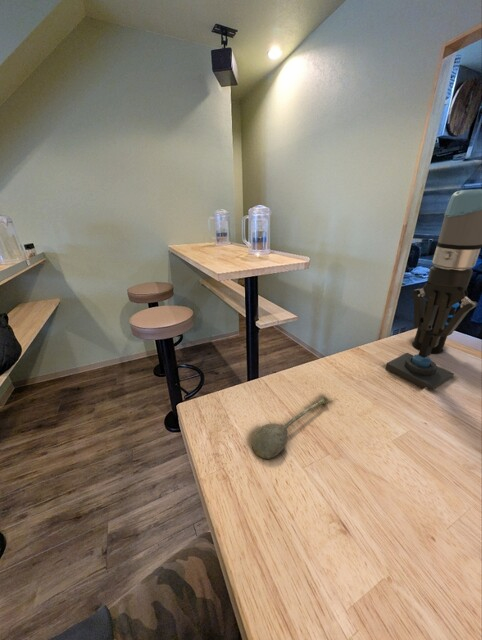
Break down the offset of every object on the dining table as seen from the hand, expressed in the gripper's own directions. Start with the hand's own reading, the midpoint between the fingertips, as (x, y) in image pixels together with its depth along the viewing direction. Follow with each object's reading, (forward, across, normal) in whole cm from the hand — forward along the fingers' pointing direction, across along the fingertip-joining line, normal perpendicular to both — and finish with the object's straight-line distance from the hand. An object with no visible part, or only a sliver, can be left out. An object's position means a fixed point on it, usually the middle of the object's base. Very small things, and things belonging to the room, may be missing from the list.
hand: (424, 355), depth 66 cm
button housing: (+6, 0, 0) cm, 6 cm away
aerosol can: (+7, -6, +17) cm, 19 cm away
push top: (+3, 0, 0) cm, 3 cm away
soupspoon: (+6, -4, -40) cm, 41 cm away
